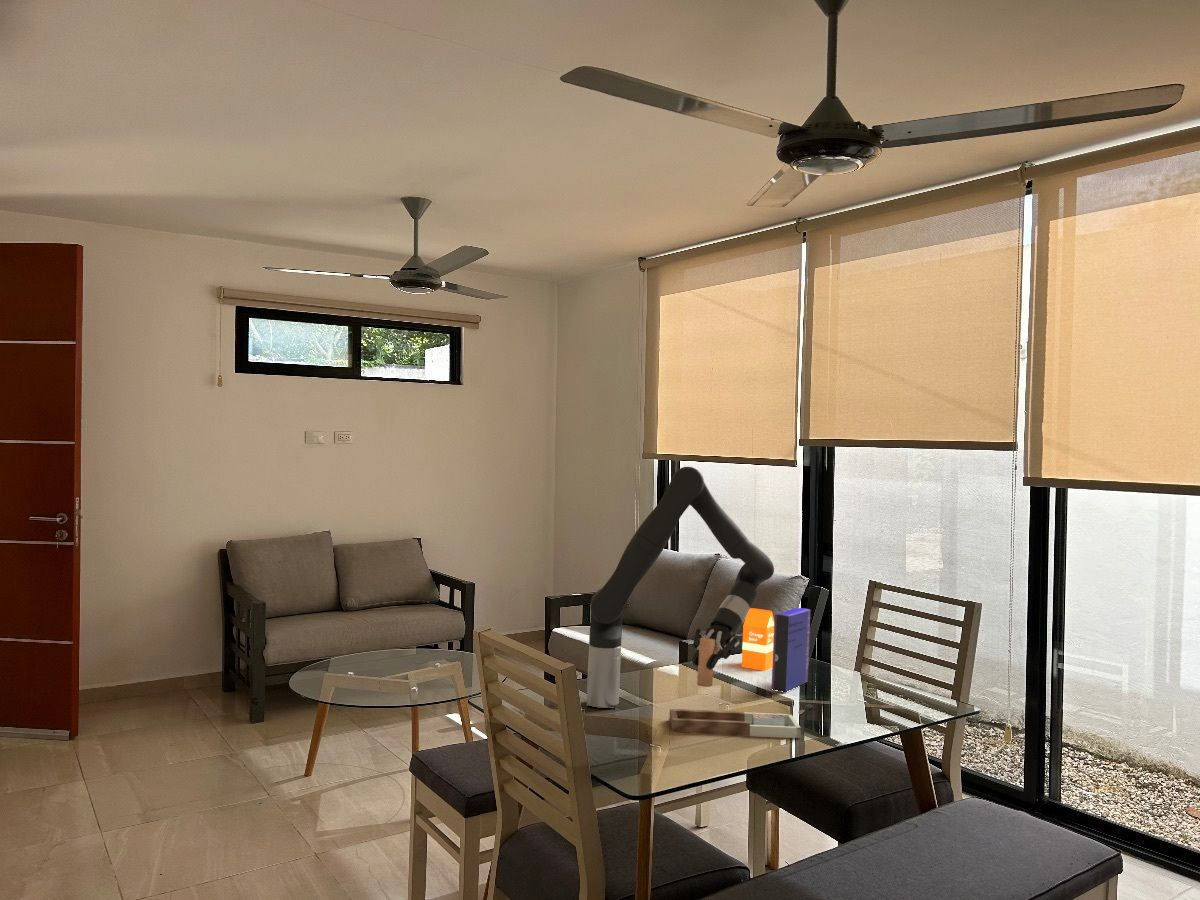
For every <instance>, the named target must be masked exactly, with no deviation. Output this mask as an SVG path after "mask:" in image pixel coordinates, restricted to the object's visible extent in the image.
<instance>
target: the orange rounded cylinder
mask: <svg viewBox="0 0 1200 900" xmlns="http://www.w3.org/2000/svg"><path fill="white" fill-rule="evenodd" d="M714 650H715V639H712V638H705V637H704V638H700V646H699V662H698V666H697V677H696V678H697V680H696V681H697V682H696V684H697V685H698V686H699V687H712V686H713V680H714V679H713V677H714V668H712V670H709V669H708V668H707V667H706V664H707V662H708V660H709V658H710V657H711V655H712V654H714Z"/></svg>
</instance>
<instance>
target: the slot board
mask: <svg viewBox="0 0 1200 900" xmlns="http://www.w3.org/2000/svg"><path fill="white" fill-rule="evenodd" d="M744 712H745V711H730V710H729V711H728V710H708V709H707V710H706V709H705V710H704V709H684V708H683V709H682V708H681V709H680V708H669V717H668V720H669V723H670V724H669V725H670V729H671V732H672V734H688V735H689V734H690V735H691V734H692V735H711V736H713V735H714V736H715V735H716V736H734V737H736V736H737V737H739V736H740V737H751V736H750V735H749V733H750V725H751V723H750V722H749V721H744V718H745V713H744Z"/></svg>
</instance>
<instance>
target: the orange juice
mask: <svg viewBox="0 0 1200 900" xmlns="http://www.w3.org/2000/svg"><path fill="white" fill-rule="evenodd" d="M742 627H743V628H742V648H741V649H742V653H741V667H742V668H748V669H752V670H753V669H754V670H759V671H763V672H766V671H767V670H770V669H772V665H773V640H774V614H773V611H772V610H766V609H761V608H754V607H753V608H752V607H751V608H750V610H749V612H748V614H747V617H746V618H745V620H744V622H743V624H742Z"/></svg>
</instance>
